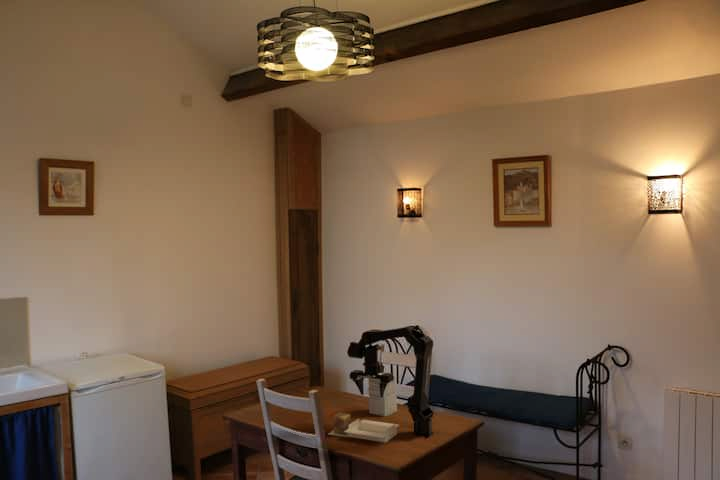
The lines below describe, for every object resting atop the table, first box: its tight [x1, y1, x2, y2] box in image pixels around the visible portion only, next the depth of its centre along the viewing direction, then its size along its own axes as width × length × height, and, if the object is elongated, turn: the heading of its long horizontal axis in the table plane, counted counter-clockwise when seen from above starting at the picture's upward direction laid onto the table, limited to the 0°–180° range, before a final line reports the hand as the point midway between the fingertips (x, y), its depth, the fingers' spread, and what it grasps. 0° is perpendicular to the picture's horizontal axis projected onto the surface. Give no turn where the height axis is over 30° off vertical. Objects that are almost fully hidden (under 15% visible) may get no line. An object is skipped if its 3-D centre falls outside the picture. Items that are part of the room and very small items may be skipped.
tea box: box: [333, 412, 351, 435], centre depth 248 cm, size 5×5×7 cm
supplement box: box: [367, 372, 398, 417], centre depth 275 cm, size 10×9×17 cm
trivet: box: [327, 429, 348, 438], centre depth 248 cm, size 9×9×1 cm
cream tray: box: [344, 418, 400, 443], centre depth 243 cm, size 17×16×5 cm
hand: (372, 396), depth 257 cm, fingers open, 9 cm apart
